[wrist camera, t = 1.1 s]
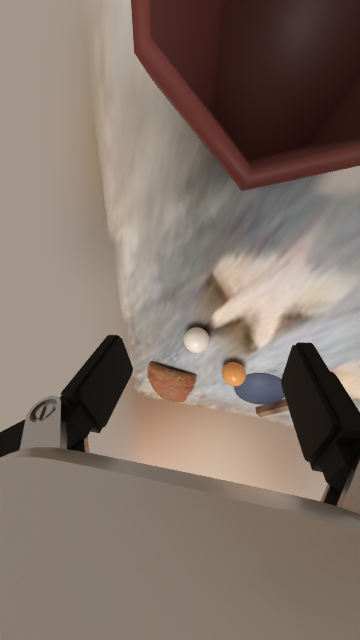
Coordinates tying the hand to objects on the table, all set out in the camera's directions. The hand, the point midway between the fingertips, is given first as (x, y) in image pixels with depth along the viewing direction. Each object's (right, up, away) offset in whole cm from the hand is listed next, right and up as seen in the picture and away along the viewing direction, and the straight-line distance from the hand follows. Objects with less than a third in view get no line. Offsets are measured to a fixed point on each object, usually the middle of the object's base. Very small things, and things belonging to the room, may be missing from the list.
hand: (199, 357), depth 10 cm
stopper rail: (+28, -23, +44) cm, 57 cm away
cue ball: (+3, -3, +32) cm, 33 cm away
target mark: (+22, -18, +42) cm, 50 cm away
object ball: (+13, -12, +36) cm, 40 cm away
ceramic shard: (-4, -18, +49) cm, 52 cm away
